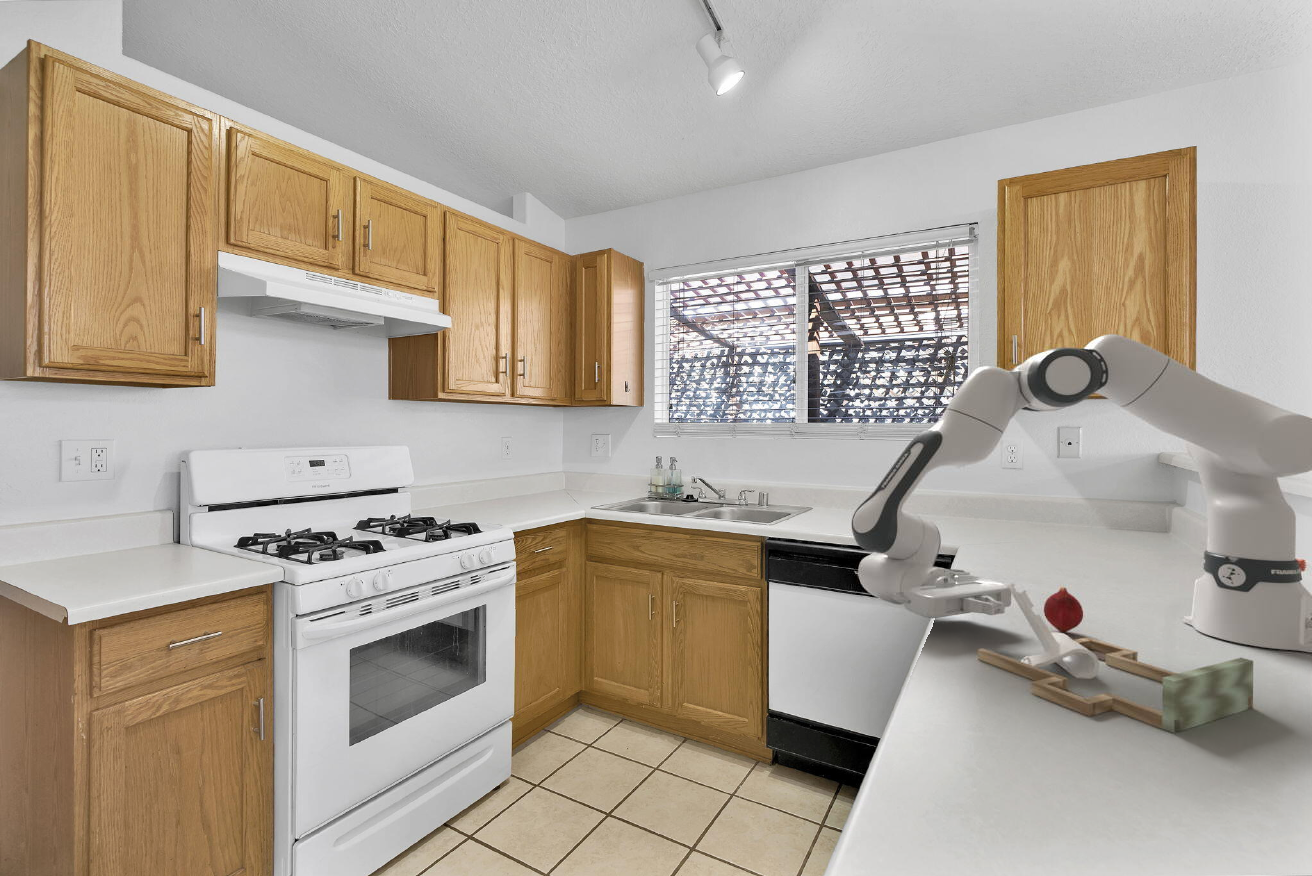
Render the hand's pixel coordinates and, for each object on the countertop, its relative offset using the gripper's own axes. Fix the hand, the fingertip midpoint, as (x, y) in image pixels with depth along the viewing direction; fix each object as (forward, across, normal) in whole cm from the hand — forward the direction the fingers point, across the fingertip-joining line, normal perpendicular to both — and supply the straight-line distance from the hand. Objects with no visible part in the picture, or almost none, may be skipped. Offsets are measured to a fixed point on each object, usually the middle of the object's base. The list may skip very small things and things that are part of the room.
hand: (998, 609), depth 101 cm
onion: (0, +17, +6) cm, 18 cm away
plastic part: (+10, -2, +6) cm, 12 cm away
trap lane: (+16, 0, +6) cm, 17 cm away
